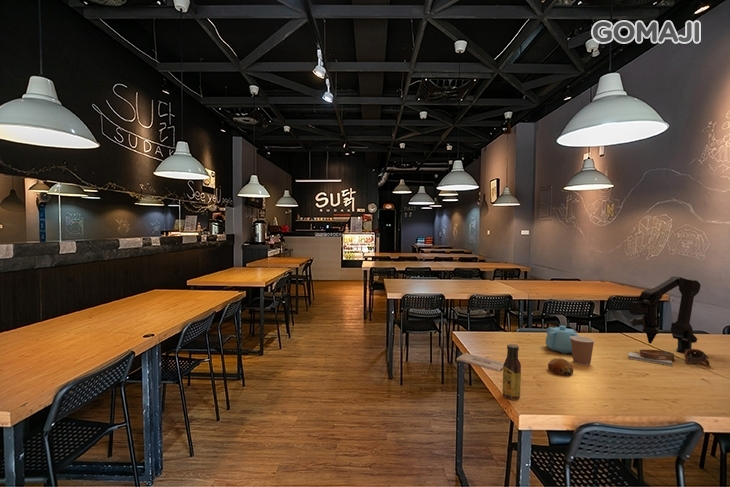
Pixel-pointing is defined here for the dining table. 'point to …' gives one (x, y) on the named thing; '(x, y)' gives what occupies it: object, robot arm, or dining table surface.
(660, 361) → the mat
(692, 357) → the pottery mug
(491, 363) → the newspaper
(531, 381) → the dining table surface
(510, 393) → the sauce bottle
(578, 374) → the dining table surface
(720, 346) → the dining table surface
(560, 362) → the bread roll
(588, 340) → the coffee cup
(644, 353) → the tin
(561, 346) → the decorative pot
